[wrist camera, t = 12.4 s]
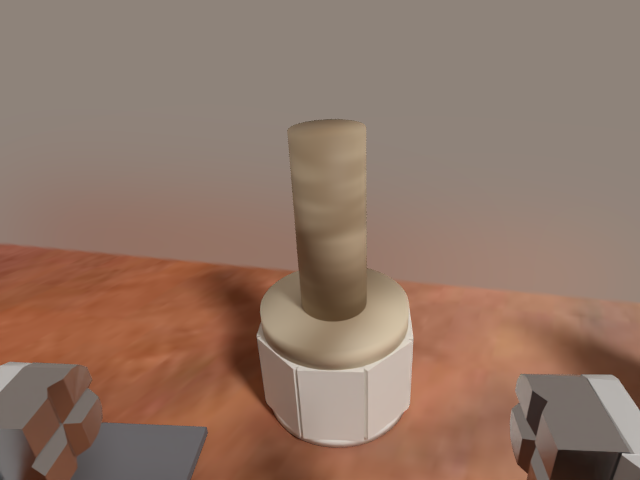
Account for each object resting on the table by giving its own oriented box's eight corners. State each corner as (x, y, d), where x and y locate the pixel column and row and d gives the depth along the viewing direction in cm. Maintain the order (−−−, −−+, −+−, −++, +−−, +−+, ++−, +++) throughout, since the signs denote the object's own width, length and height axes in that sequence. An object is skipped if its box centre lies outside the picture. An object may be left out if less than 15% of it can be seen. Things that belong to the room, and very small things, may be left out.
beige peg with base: (247, 367, 19) (213, 156, 15) (276, 280, 25) (258, 111, 21) (414, 372, 18) (427, 152, 14) (403, 281, 24) (410, 107, 20)
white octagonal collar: (257, 444, 21) (245, 369, 19) (282, 343, 27) (275, 278, 25) (413, 451, 20) (418, 373, 18) (402, 346, 27) (405, 279, 25)
